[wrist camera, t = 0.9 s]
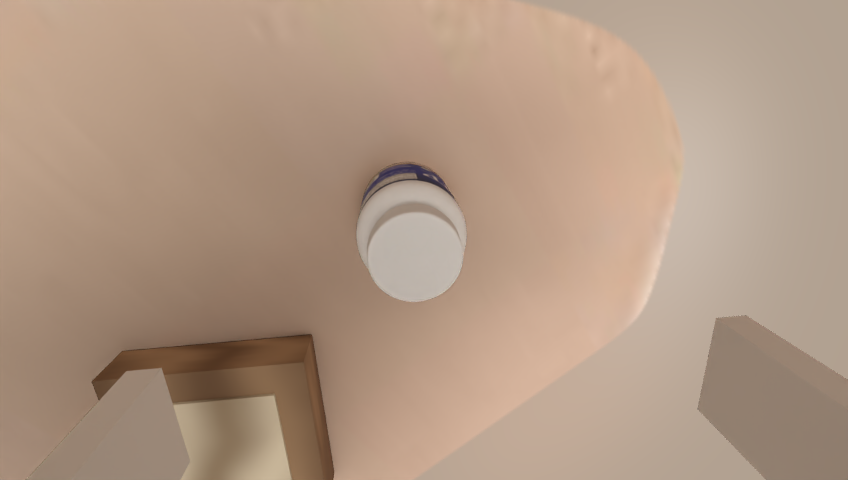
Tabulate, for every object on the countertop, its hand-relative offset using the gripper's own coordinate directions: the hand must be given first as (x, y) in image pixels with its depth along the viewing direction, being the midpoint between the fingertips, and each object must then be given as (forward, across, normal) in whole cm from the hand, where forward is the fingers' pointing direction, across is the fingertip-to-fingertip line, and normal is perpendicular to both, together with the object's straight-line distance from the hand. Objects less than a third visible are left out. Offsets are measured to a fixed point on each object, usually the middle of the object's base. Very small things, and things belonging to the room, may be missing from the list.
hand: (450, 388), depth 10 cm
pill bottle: (+17, 0, 0) cm, 17 cm away
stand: (+16, -13, -14) cm, 25 cm away
